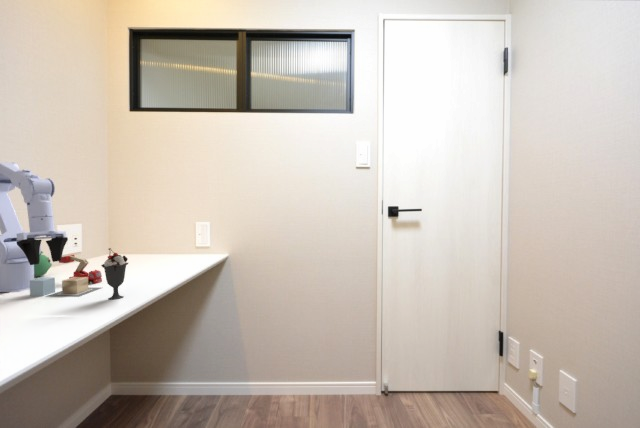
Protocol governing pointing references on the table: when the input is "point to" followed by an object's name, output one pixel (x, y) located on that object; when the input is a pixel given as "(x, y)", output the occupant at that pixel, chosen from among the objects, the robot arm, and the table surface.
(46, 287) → the bluegrey block
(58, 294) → the grey square pad
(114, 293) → the sundae
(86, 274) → the toy fire truck
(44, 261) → the alien toy
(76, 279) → the beech block
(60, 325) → the table surface
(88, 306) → the table surface
